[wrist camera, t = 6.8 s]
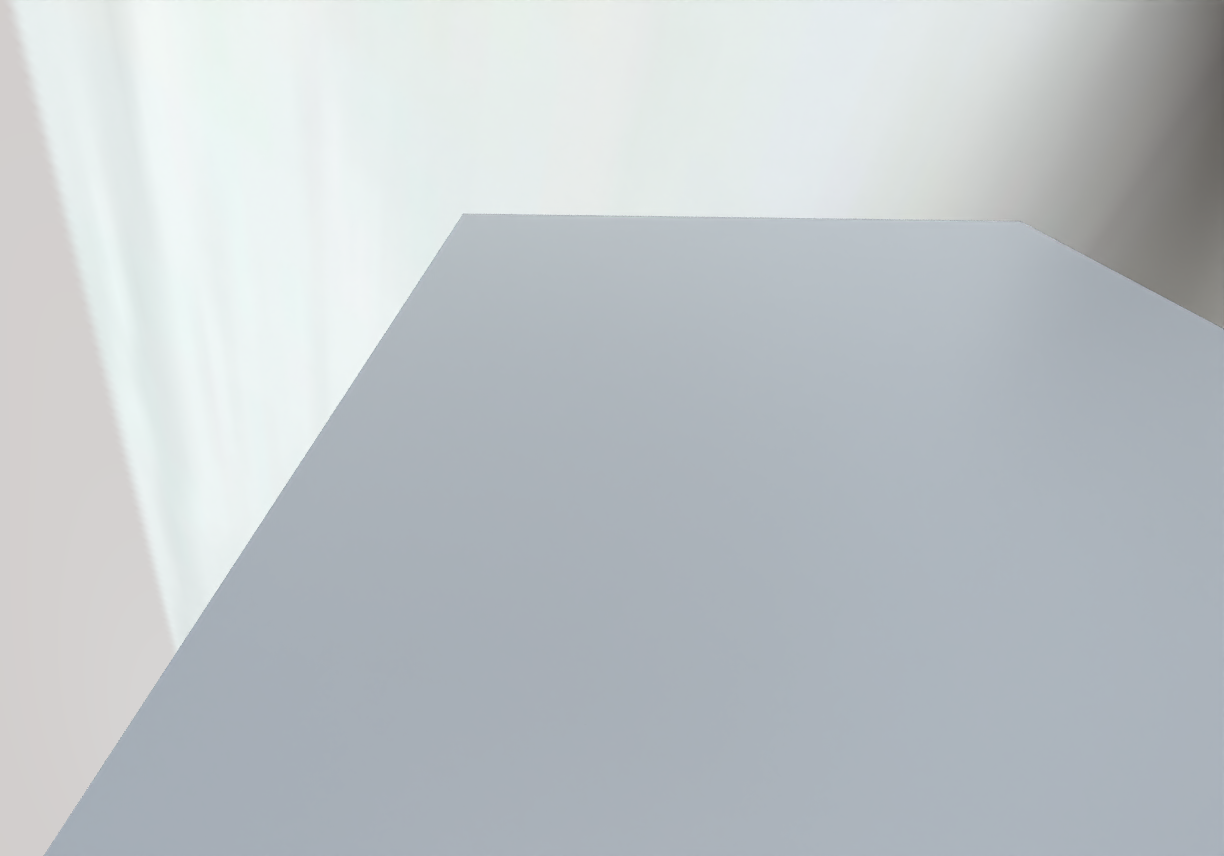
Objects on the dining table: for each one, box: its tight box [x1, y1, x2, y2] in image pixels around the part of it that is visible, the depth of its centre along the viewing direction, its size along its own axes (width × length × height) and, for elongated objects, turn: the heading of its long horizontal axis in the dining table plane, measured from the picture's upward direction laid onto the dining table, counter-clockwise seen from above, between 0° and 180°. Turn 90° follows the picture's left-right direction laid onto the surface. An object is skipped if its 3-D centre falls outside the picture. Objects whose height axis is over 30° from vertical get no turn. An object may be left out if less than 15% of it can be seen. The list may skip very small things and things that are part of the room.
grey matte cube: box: [44, 214, 1224, 856], centre depth 8 cm, size 8×8×9 cm
